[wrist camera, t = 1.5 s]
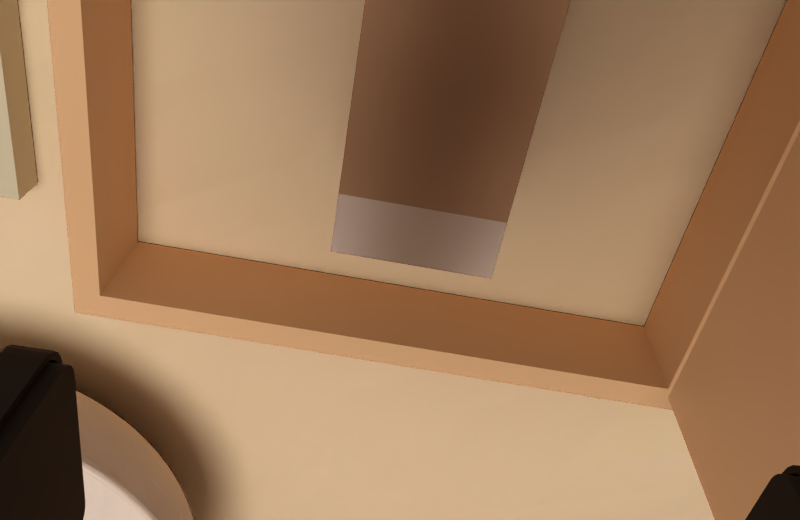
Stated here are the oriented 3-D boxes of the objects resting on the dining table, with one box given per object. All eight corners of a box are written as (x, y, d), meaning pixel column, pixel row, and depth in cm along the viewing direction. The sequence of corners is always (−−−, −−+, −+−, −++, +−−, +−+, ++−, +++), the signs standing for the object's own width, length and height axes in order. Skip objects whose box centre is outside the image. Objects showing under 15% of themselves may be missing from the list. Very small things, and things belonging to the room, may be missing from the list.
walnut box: (543, -67, 24) (577, -26, 18) (480, 180, 28) (491, 278, 22) (391, -97, 23) (374, -64, 17) (354, 157, 28) (330, 251, 22)
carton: (933, -250, 20) (1417, -308, 10) (657, 347, 32) (757, 598, 22) (80, -429, 19) (-319, -691, 9) (115, 257, 31) (-45, 476, 21)
